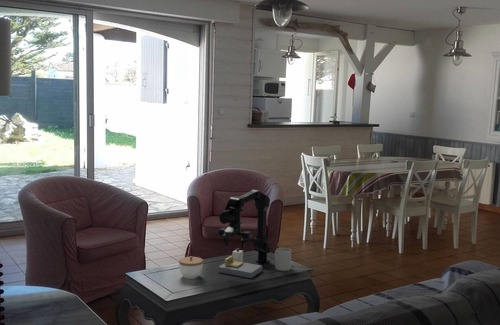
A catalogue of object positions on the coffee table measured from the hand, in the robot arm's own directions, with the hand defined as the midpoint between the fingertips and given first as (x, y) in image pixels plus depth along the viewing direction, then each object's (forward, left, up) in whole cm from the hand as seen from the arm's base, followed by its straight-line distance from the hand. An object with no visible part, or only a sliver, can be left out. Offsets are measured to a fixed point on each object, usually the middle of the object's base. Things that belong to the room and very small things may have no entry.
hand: (234, 248), depth 283 cm
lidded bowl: (+17, -17, -14) cm, 28 cm away
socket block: (-4, +2, -14) cm, 14 cm away
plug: (-14, -5, -14) cm, 20 cm away
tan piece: (-4, -2, -10) cm, 11 cm away
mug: (-22, +19, -14) cm, 32 cm away
